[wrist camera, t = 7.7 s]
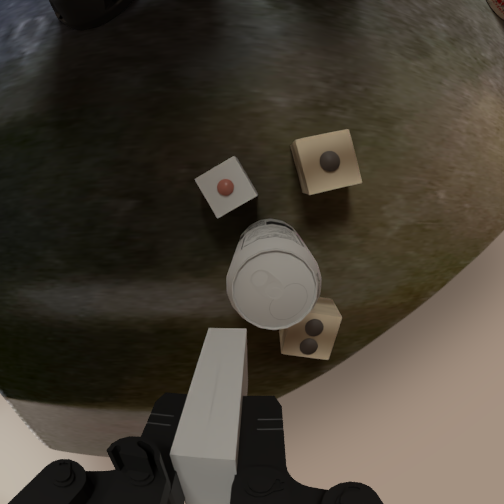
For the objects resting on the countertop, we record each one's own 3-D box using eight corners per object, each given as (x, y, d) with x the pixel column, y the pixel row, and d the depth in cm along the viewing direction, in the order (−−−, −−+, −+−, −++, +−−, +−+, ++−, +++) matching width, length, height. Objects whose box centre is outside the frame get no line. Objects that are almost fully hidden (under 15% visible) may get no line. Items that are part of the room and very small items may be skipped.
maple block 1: (290, 145, 37) (295, 139, 31) (336, 135, 37) (349, 128, 31) (302, 192, 39) (309, 195, 33) (347, 181, 38) (362, 182, 32)
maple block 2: (288, 291, 42) (292, 310, 35) (331, 298, 42) (342, 317, 36) (279, 331, 43) (281, 354, 37) (320, 337, 43) (328, 360, 37)
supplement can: (315, 246, 40) (344, 285, 25) (272, 293, 42) (277, 352, 27) (267, 204, 39) (270, 220, 24) (224, 253, 40) (204, 296, 26)
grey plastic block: (202, 179, 39) (194, 179, 33) (237, 158, 38) (234, 155, 33) (222, 213, 39) (217, 218, 34) (257, 193, 39) (257, 195, 34)
